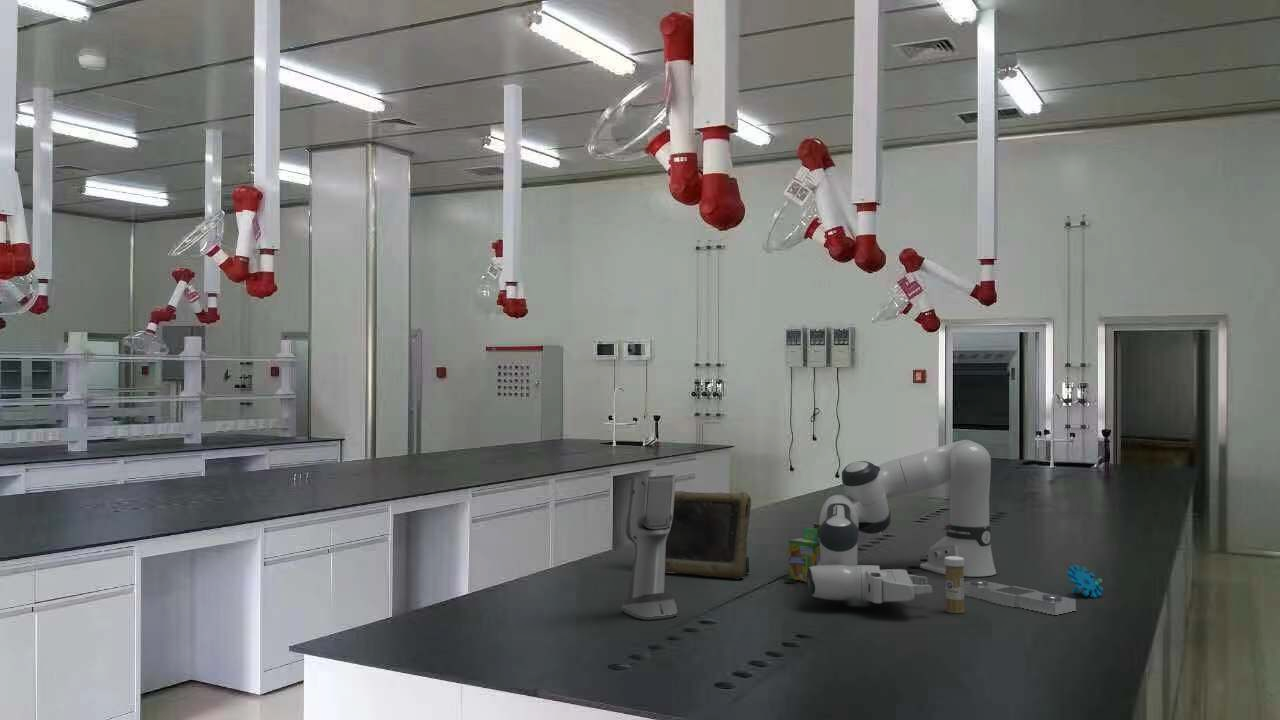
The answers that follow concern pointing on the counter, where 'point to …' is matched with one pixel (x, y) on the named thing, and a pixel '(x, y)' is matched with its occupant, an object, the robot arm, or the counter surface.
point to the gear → (1084, 581)
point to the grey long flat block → (1019, 597)
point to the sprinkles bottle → (954, 584)
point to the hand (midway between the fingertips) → (929, 584)
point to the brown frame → (709, 534)
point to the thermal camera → (650, 544)
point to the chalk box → (803, 554)
